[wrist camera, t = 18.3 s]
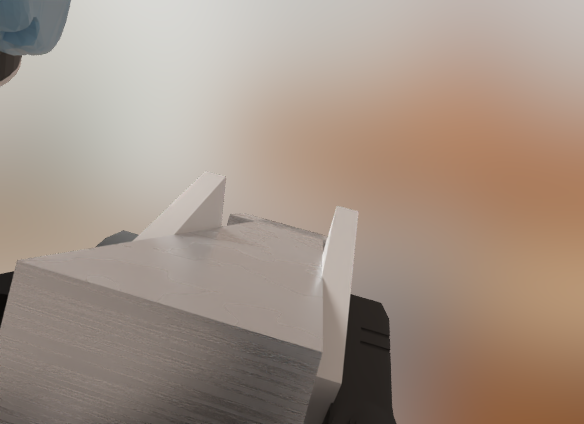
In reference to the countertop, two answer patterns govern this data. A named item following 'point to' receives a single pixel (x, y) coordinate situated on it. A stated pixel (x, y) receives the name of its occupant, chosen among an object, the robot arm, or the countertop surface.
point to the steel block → (167, 330)
